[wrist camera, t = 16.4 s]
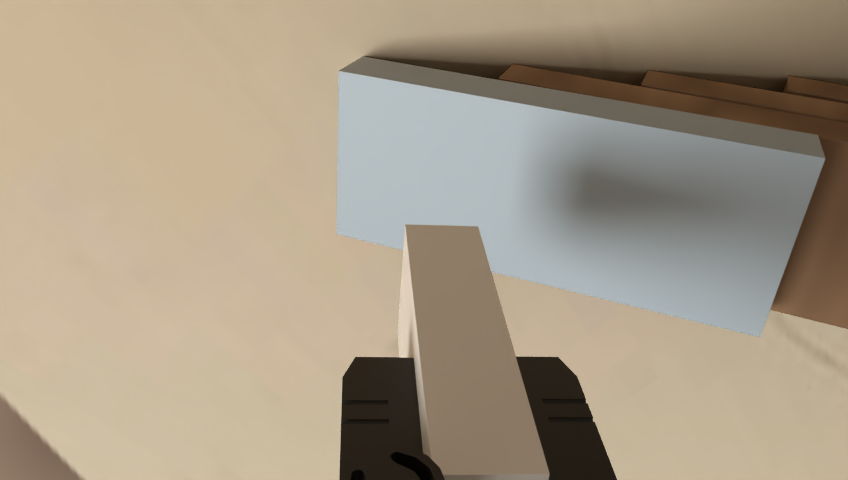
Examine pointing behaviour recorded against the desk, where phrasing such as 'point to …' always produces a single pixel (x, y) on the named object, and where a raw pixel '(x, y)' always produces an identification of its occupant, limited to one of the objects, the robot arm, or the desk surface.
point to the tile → (577, 188)
